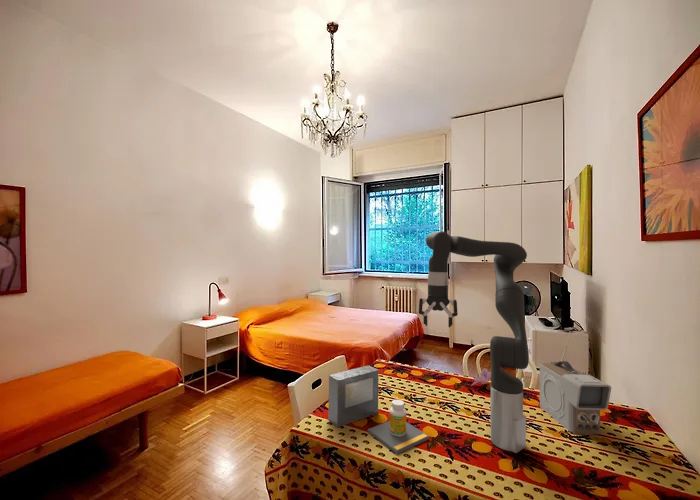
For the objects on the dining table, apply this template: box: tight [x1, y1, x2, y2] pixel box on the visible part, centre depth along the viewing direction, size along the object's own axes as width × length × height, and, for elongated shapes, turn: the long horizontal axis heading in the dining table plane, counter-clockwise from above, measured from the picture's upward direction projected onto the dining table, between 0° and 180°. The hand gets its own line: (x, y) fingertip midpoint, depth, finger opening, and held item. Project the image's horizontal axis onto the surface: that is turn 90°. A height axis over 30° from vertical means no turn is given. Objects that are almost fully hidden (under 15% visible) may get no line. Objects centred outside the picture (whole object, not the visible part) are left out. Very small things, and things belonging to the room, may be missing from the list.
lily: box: [471, 367, 491, 388], centre depth 141 cm, size 12×12×10 cm
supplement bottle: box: [389, 399, 407, 437], centre depth 104 cm, size 5×5×10 cm
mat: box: [367, 420, 430, 455], centre depth 104 cm, size 14×14×1 cm
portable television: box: [539, 331, 612, 435], centre depth 114 cm, size 12×24×30 cm, turn 178°
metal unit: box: [327, 364, 379, 428], centre depth 116 cm, size 7×18×16 cm, turn 124°
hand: (437, 326), depth 121 cm, fingers open, 8 cm apart
